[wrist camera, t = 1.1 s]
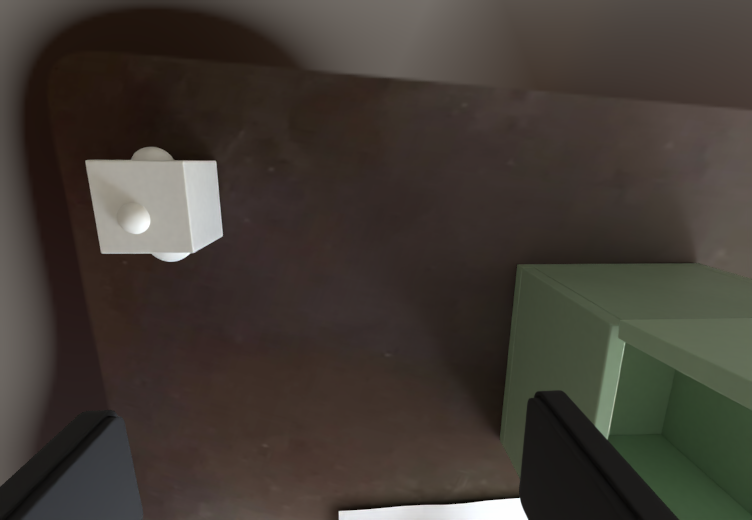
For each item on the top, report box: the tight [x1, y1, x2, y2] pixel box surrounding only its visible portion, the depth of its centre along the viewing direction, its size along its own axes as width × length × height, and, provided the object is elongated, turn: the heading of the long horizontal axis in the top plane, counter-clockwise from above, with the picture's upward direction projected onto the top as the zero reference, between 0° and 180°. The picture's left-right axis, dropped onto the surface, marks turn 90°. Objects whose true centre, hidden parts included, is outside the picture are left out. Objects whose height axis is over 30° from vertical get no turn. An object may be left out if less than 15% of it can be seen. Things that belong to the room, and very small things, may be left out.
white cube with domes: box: [85, 147, 223, 262], centre depth 21 cm, size 6×5×5 cm
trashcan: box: [500, 263, 752, 520], centre depth 23 cm, size 14×13×10 cm
